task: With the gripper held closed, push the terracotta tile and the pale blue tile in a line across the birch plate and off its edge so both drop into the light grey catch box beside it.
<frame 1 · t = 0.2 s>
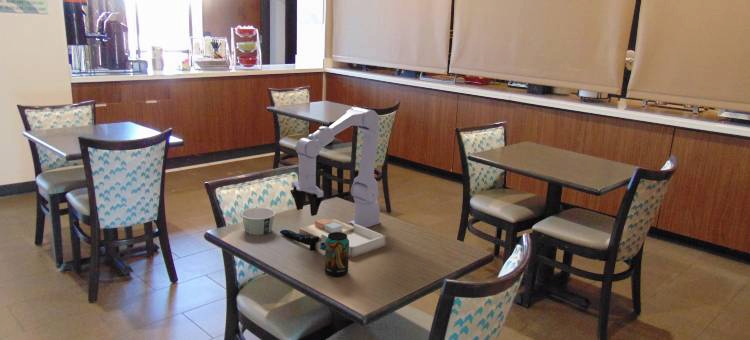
hand: (306, 212, 193), 10 cm above the table, tool pointing down, fingers open, 7 cm apart
birch plate: (327, 233, 201), on the table
blue tile: (333, 230, 199), point 2 cm above the table, touching birch plate
catch box: (353, 244, 192), on the table
terracotta tile: (324, 226, 202), point 2 cm above the table, touching birch plate
food container: (258, 230, 202), on the table
beverage can: (336, 273, 171), on the table
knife: (307, 247, 189), on the table
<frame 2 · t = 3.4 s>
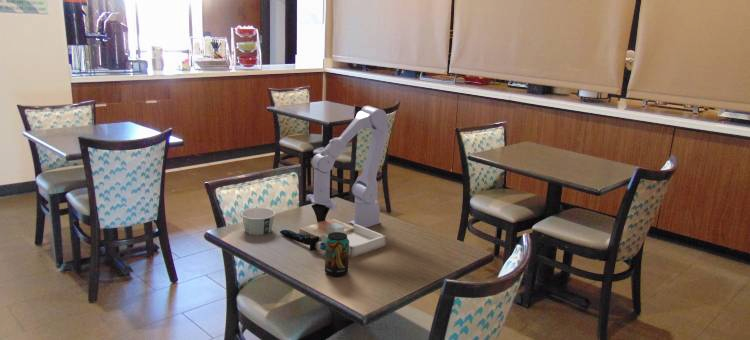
hand: (320, 223, 203), 3 cm above the table, tool pointing down, fingers closed
blue tile: (335, 231, 198), point 2 cm above the table, touching birch plate
terracotta tile: (326, 227, 201), point 2 cm above the table, touching birch plate, gripper
everything else where it was.
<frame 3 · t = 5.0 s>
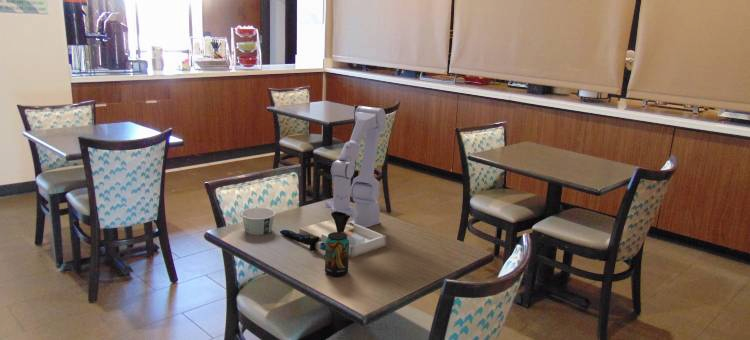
hand: (340, 232, 196), 3 cm above the table, tool pointing down, fingers closed
blue tile: (355, 243, 192), point 1 cm above the table, touching catch box, terracotta tile
terracotta tile: (346, 239, 195), point 1 cm above the table, touching blue tile, catch box, gripper
everything else where it was.
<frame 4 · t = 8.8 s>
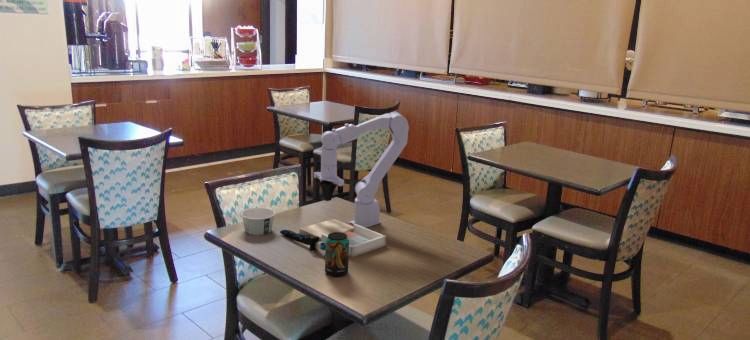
hand: (328, 200, 208), 9 cm above the table, tool pointing down, fingers closed
blue tile: (357, 244, 191), point 1 cm above the table, touching catch box
terracotta tile: (348, 240, 194), point 1 cm above the table, touching catch box
everything else where it was.
at the end: blue tile inside the target area on the catch box (2.0 cm from its centre), point 0.8 cm above the catch box's base; terracotta tile inside the target area on the catch box (2.6 cm from its centre), point 0.8 cm above the catch box's base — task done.
